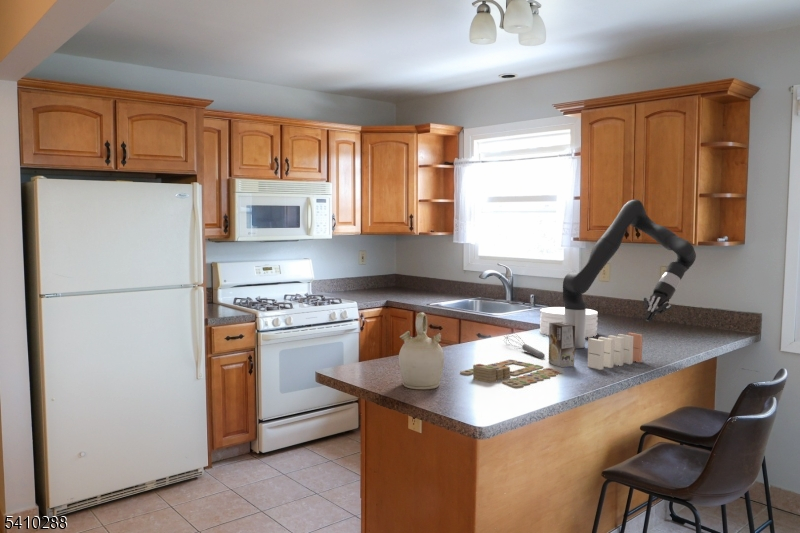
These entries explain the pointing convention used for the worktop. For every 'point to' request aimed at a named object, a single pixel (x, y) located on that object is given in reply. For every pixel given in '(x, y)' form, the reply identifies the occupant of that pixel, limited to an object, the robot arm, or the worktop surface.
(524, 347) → the kitchen whisk
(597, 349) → the ivory tile
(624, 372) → the worktop surface
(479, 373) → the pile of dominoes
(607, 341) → the ivory tile
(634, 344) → the rust tile
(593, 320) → the plate stack
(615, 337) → the ivory tile
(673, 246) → the robot arm
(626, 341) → the ivory tile
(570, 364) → the coffee box
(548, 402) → the worktop surface
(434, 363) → the jug
